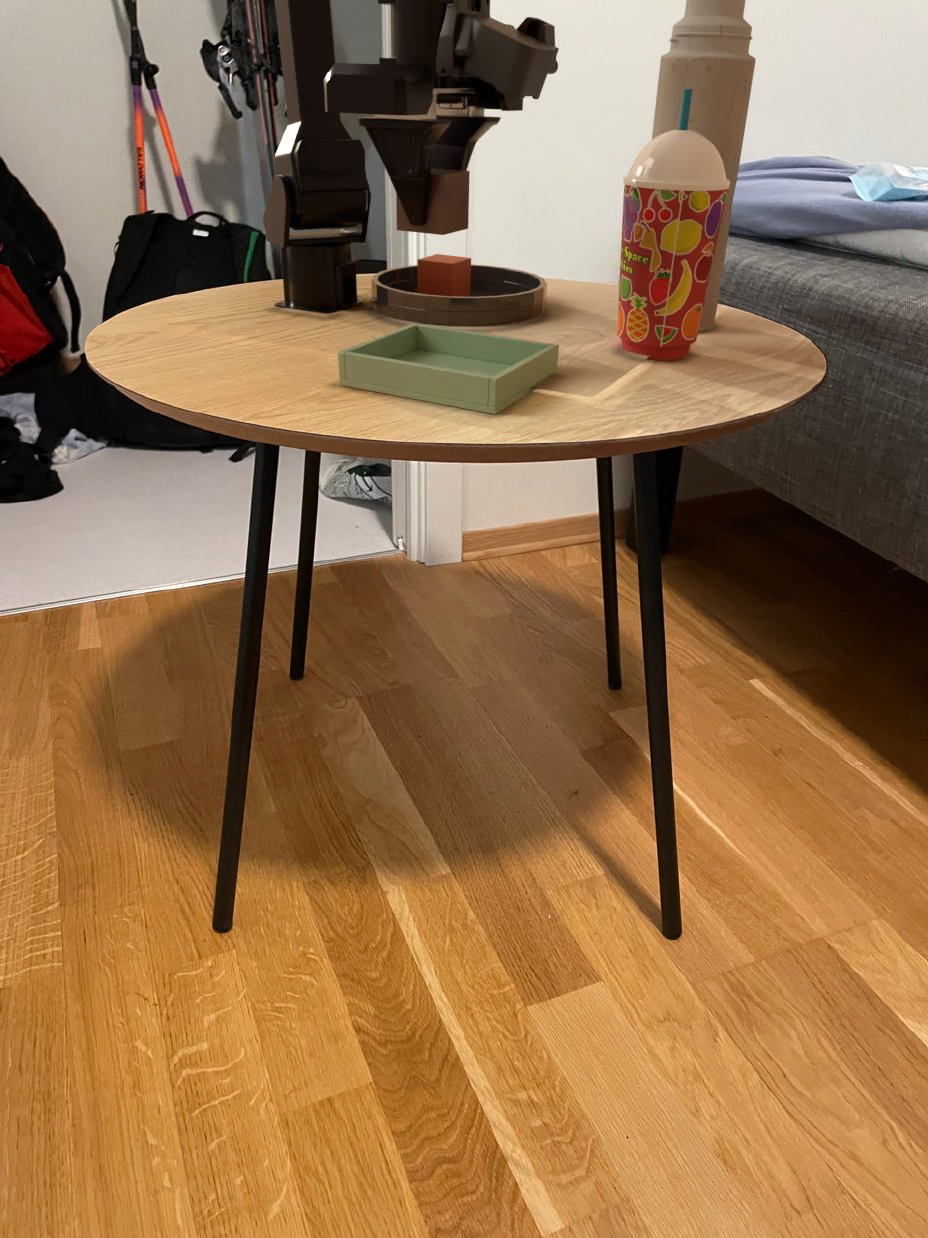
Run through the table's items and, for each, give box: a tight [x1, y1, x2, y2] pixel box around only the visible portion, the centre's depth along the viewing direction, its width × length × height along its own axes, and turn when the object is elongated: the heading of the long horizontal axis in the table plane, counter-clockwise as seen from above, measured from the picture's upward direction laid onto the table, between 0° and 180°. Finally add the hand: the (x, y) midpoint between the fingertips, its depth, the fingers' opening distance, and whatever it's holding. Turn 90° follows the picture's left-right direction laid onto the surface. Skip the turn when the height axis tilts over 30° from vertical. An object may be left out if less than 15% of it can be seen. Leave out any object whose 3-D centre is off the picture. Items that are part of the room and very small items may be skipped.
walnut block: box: [395, 168, 471, 236], centre depth 69 cm, size 4×4×4 cm
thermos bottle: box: [651, 0, 757, 333], centre depth 84 cm, size 8×8×28 cm
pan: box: [371, 263, 548, 327], centre depth 93 cm, size 17×17×3 cm
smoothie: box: [616, 89, 730, 362], centre depth 76 cm, size 8×8×20 cm
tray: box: [337, 322, 560, 415], centre depth 72 cm, size 13×11×2 cm
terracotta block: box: [417, 253, 472, 297], centre depth 94 cm, size 4×4×4 cm
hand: (431, 222), depth 70 cm, fingers closed on walnut block, 4 cm apart
